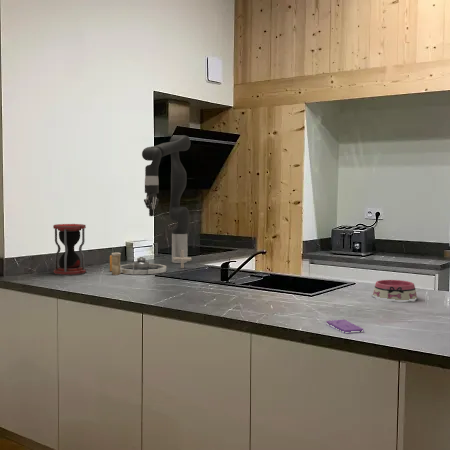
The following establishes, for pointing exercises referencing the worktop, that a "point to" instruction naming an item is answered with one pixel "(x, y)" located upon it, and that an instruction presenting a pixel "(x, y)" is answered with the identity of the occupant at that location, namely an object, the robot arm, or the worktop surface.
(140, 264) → the cover
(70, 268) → the hourglass
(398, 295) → the dog bowl
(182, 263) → the pipe connector
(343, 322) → the sponges
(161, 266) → the ring
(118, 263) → the gauge stand
